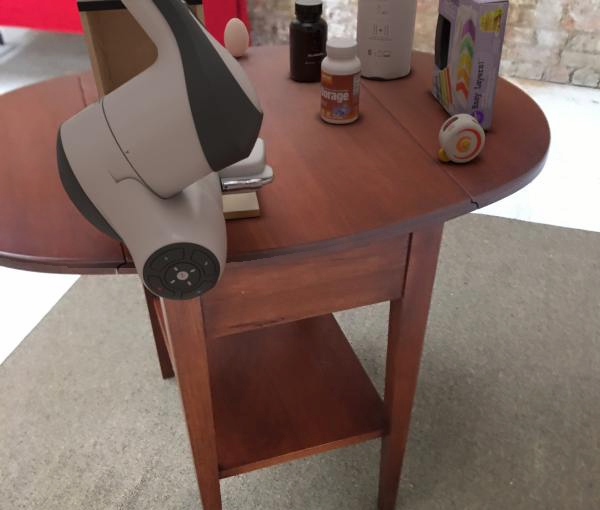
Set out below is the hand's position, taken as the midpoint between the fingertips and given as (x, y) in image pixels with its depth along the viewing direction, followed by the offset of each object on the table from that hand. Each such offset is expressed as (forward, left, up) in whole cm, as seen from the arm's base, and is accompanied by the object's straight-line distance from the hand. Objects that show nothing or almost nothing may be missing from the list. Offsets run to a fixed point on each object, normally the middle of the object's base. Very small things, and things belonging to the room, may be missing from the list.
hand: (178, 139), depth 78 cm
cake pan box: (+44, +24, -9) cm, 51 cm away
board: (0, -1, -8) cm, 8 cm away
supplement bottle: (+23, +44, -9) cm, 51 cm away
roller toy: (+39, +6, -9) cm, 40 cm away
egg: (+11, +58, -9) cm, 60 cm away
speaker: (+37, +44, -9) cm, 58 cm away
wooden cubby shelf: (-4, +36, -8) cm, 38 cm away
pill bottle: (+25, +24, -9) cm, 36 cm away
